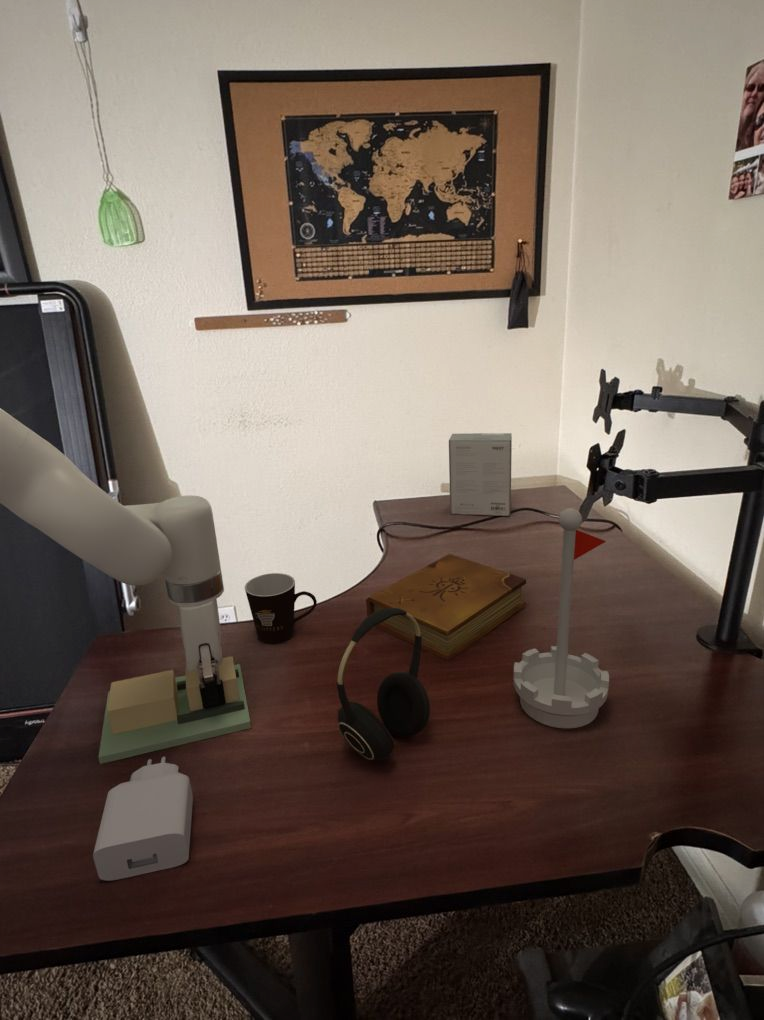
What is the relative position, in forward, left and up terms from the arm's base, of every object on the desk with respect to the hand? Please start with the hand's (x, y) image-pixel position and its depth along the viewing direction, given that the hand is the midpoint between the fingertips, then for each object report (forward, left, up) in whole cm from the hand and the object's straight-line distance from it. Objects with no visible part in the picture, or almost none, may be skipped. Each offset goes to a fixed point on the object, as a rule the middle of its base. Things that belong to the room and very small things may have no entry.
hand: (213, 691), depth 94 cm
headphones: (+22, -17, -2) cm, 28 cm away
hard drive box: (+72, +57, -2) cm, 91 cm away
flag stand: (+48, -18, -2) cm, 51 cm away
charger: (-8, -20, -2) cm, 21 cm away
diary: (+43, +11, -2) cm, 44 cm away
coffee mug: (+13, +15, -2) cm, 20 cm away
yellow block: (0, 0, -1) cm, 1 cm away
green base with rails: (-5, 0, -2) cm, 6 cm away
